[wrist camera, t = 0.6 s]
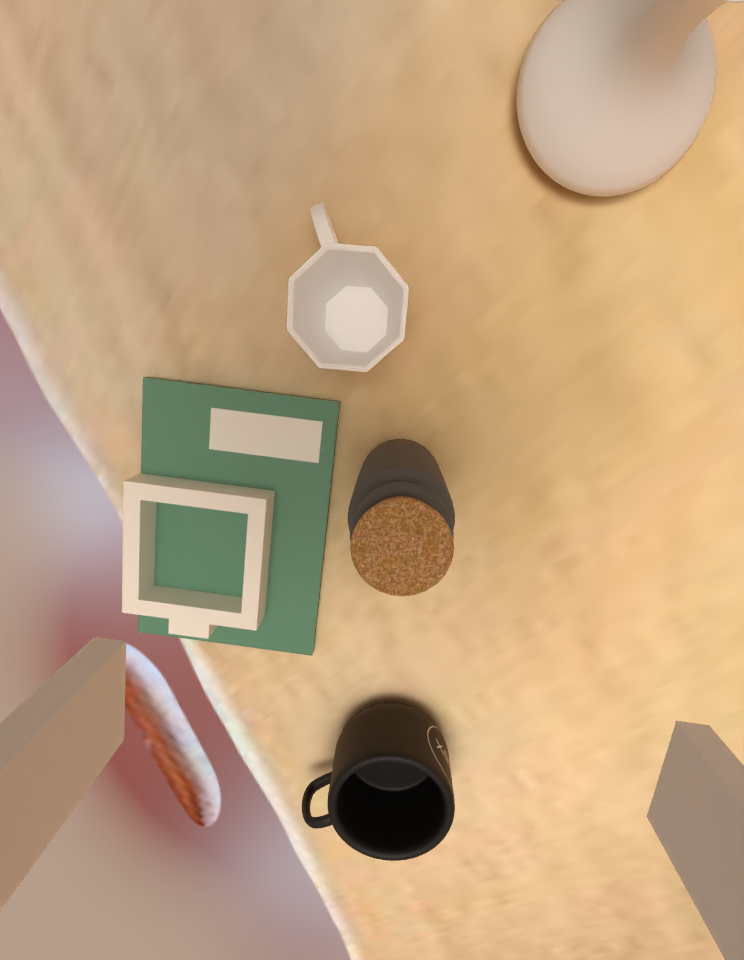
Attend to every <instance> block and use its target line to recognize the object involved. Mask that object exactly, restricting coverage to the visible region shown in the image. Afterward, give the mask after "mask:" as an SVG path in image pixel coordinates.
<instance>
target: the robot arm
mask: <svg viewBox="0 0 744 960" xmlns="http://www.w3.org/2000/svg"><path fill="white" fill-rule="evenodd" d="M125 664H126V642H125V641H118V640H111V639H104V638H97V637H94V638H93V639H92V640H91V641H90V642H89V643H87V644H86V645H85V646H84V647H83V648H82V649H81V650H80V651H79V652H78V653H76V654H75V655H74V656H73V657H72V658H71V659H70V660H69V661H68V662H67V663H66V664H65V665H63V666H62V667H61V668H60V669H59V670H58V671H57V672H56V673H55V674H53V675H52V676H51V677H50V678H49V679H48V680H47V681H46V682H45V683H44V684H43V685H41V686H40V688H38V689H37V690H36V691H35V692H34V693H33V694H32V695H31V696H29V697H28V698H27V699H26V700H25V701H24V702H23V703H22V704H21V705H20V706H18V707H17V708H16V709H15V710H14V711H13V712H12V713H11V714H10V715H9V716H8V717H6V718H5V719H4V720H3V721H2V722H1V723H0V911H1V910H2V908H3V907H4V905H5V904H6V903H7V901H8V900H9V898H10V897H11V896H12V894H13V893H14V892H15V890H16V889H17V887H18V886H19V885H20V883H21V882H22V880H23V879H24V877H25V876H26V875H27V873H28V872H29V871H30V869H31V868H32V867H33V865H34V864H35V862H36V861H37V860H38V858H39V857H40V855H41V854H42V853H43V851H44V850H45V848H46V847H47V846H48V844H49V843H50V841H51V840H52V839H53V837H54V836H55V834H56V833H57V832H58V830H59V829H60V827H61V826H62V825H63V823H64V822H65V821H66V819H67V818H68V817H69V815H70V813H71V812H72V811H73V809H74V808H75V807H76V805H77V804H78V803H79V801H80V800H81V798H82V797H83V796H84V794H85V793H86V792H87V790H88V789H89V787H90V786H91V785H92V783H93V782H94V781H95V779H96V778H97V776H98V775H99V774H100V772H101V771H102V769H103V768H104V766H105V765H106V764H107V762H108V761H109V760H110V758H111V757H112V756H113V754H114V753H115V751H116V750H117V749H118V747H119V746H120V744H121V743H122V742H123V740H124V713H125ZM647 818H648V820H649V821H650V823H651V825H652V827H653V829H654V831H655V832H656V834H657V836H658V838H659V840H660V842H661V843H662V845H663V847H664V849H665V851H666V852H667V854H668V856H669V858H670V860H671V862H672V863H673V865H674V867H675V869H676V871H677V873H678V874H679V876H680V878H681V880H682V882H683V884H684V885H685V887H686V889H687V891H688V893H689V895H690V896H691V898H692V900H693V902H694V904H695V905H696V907H697V909H698V911H699V913H700V915H701V916H702V918H703V920H704V922H705V924H706V926H707V927H708V929H709V931H710V933H711V935H712V937H713V938H714V940H715V942H716V944H717V946H718V947H719V949H720V951H721V953H722V955H723V957H724V958H725V960H744V766H743V764H742V763H741V762H740V761H739V760H738V759H737V757H736V756H735V755H734V754H733V753H732V752H731V750H730V749H729V748H728V747H727V746H726V745H725V743H724V742H723V741H722V740H721V739H720V738H719V736H718V735H717V734H716V733H715V732H714V731H713V729H712V728H711V727H710V726H709V725H702V724H695V723H688V722H681V721H676V724H675V727H674V730H673V734H672V737H671V740H670V743H669V747H668V750H667V753H666V756H665V759H664V763H663V766H662V769H661V772H660V776H659V779H658V782H657V785H656V789H655V792H654V795H653V798H652V802H651V805H650V808H649V811H648V815H647Z"/></svg>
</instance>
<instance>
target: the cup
mask: <svg viewBox="0 0 744 960" xmlns="http://www.w3.org/2000/svg"><path fill="white" fill-rule="evenodd" d="M310 210H311V215H312V219H313V222H314V226H315V229H316V232H317V236H318V239H319V242H320V245H321V248H320V249H319V250H318V251H317V252H316V253H315V254H314V255H312V256H311V257H310V258H309V259H308V260H307V261H306V262H305V263H304V264H303V265H302V266H301V267H300V268H299V269H298V270H297V271H296V272H295V273H294V274H292V275H291V276H290V277H289V283H288V307H287V331H288V332H289V333H290V335H291V336H292V337H293V338H294V339H295V340H296V342H297V343H298V344H299V345H300V346H301V347H302V349H303V350H304V351H305V352H306V353H307V355H308V356H309V357H310V358H311V359H312V360H313V362H314V363H315V364H316V365H317V366H318V367H319V368H325V369H337V370H349V371H361V372H368V371H369V370H370V369H371V368H372V367H373V366H374V365H376V364H377V363H378V362H379V361H380V360H381V359H382V358H384V357H385V356H386V355H387V354H388V353H389V352H390V351H392V350H393V349H394V348H395V347H396V346H397V345H399V344H400V343H401V342H402V341H403V340H404V338H405V327H406V316H407V305H408V294H409V287H408V285H407V284H406V283H405V282H404V280H403V279H402V278H401V277H400V275H399V274H398V273H397V272H396V270H395V269H394V268H393V267H392V265H391V264H390V263H389V262H388V260H387V259H386V258H385V257H384V255H383V254H382V253H381V252H380V250H379V249H378V248H377V247H375V246H362V245H349V244H339V243H338V240H337V237H336V234H335V231H334V229H333V226H332V223H331V220H330V217H329V214H328V212H327V209H326V207H325V205H324V203H323V202H322V203H320V204H317V205H314V206H311V207H310Z"/></svg>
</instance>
